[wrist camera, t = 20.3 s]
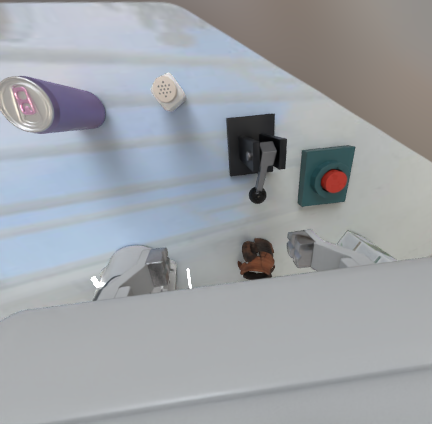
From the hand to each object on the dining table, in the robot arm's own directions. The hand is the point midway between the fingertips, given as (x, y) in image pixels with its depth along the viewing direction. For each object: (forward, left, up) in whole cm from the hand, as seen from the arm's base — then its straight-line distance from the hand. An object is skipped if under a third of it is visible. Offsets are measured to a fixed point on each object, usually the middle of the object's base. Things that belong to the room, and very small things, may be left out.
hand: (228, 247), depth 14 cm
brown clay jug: (-24, -9, -31) cm, 41 cm away
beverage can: (+11, +20, -31) cm, 39 cm away
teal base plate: (-6, -25, -31) cm, 40 cm away
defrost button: (-6, -25, -28) cm, 38 cm away
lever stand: (+2, -9, -31) cm, 32 cm away
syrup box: (-25, -35, -31) cm, 53 cm away
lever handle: (-2, -9, -25) cm, 26 cm away
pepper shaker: (+12, +5, -31) cm, 34 cm away
